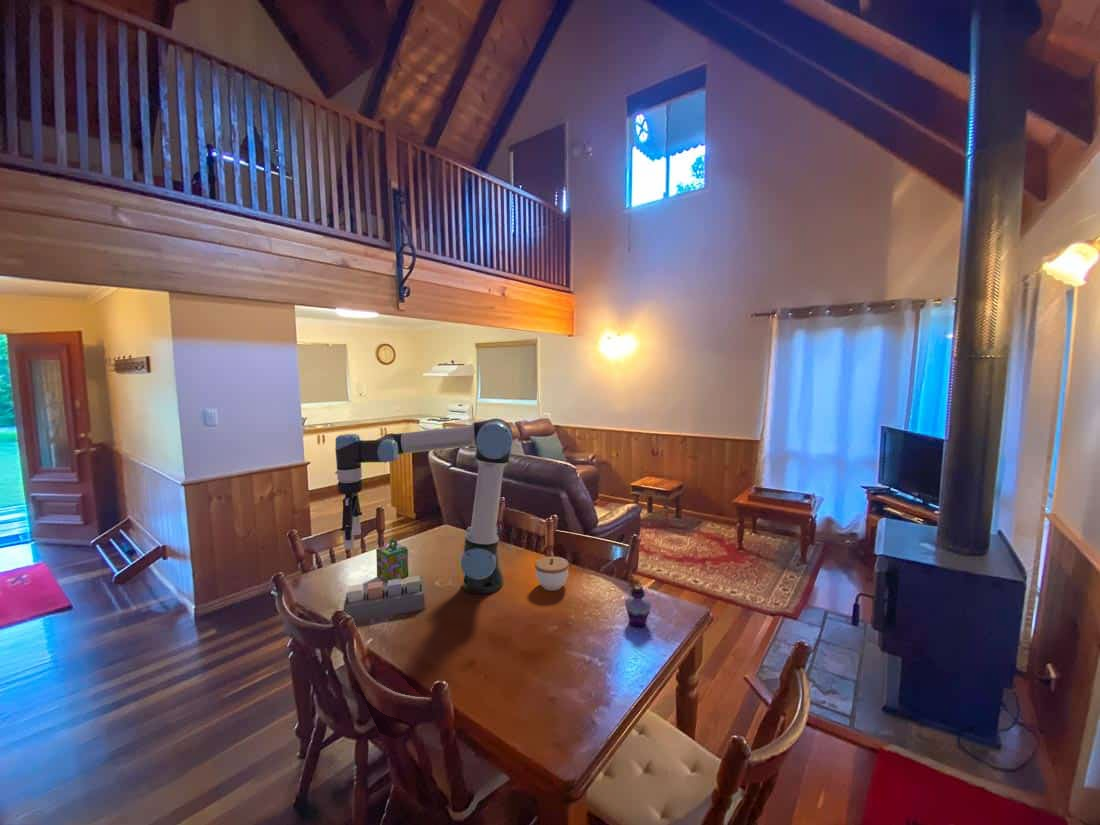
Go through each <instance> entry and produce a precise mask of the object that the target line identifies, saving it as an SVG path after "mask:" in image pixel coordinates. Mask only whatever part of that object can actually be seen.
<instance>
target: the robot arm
mask: <svg viewBox="0 0 1100 825" xmlns="http://www.w3.org/2000/svg"><path fill="white" fill-rule="evenodd" d="M513 440H514V439H513V430H512V428H511V426H510V424H509V423H508V422H507V421H505V420H503V419H501V418H492V419H487V420H483V421H475V422H473V423H472V424H471V425H465V426H456V427H447V428H446V427H444V428H439V429H436V428H435V429H429V430H420V431H410V432H402V433H394V432H393V433H387V434H384V435H383V436H381V437H379V438H377V439H373V440H372V439H371V440H370V439H369V440H366V439H365V440H363V439H361V437H360V435H359V434H356V433H355V434H354V433H347V434H340V435H337V436H336V437H335V448H334V450H335V458H336V461H335V462H336V471H335V472H334V474H335V475H337V476H336V477H337V481H338V482H337V492H338V494H340V495H344V498H343V499H342V524H341V526H342V527H341V528H340V531H341V532H343V540H344V541H343V542H344V543H343V544H344V550H345V551H346V550H354V549H355V541H354V537H355V536H358V535H361V517H360V516H362V515H363V512H361V511H362V510H361V506H360V500H359V498H360V497H359V493H360V492H362V491H363V481H362V478H363V476H362V473H363V472H362V463H366V464H367V463H384V464H385V463H391V462H395V461H396V460H397V458H398V455H403V454H411V453H420V452H429V451H438V450H447V449H456V448H458V449H459V448H466V447H467V448H468V447H473V448H475V458H474V459H475V460H476V462H477V463H478V469H477V476H476V477H477V478H476V485H475V492H474V500H473V508H472V518H471V526H468V527H467V528H466V531H465V532H466V533H465V537H464V544H463V552H462V556H461V560H460V566H461V570H462V572H463V573H464V577H463V585H462V586H463V589H464V590H465V591H466V592H467V593H470V594H474V595H475V594H476V595H485V594H491V593H495V592H498V590H500V589H501V588H503V586H504V576H503V572H502V569H501V567H500V565H499V564H500V563H499V541H500V538H499V536H498V534H499V532H498V527H497V523H498V515H499V509H500V500H501V494H502V493H501V492H502V491H501V490H502V483H503V477H504V470H505V467H506V465H508V464H509V463H510V458H511V451H512V446H513Z"/></svg>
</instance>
